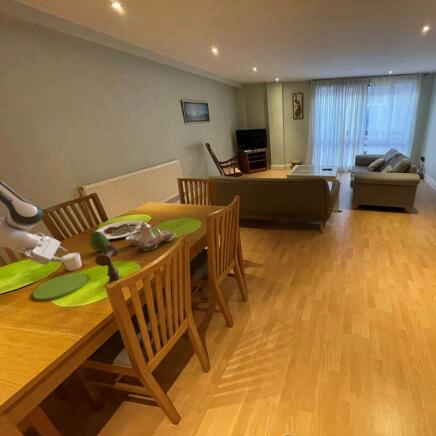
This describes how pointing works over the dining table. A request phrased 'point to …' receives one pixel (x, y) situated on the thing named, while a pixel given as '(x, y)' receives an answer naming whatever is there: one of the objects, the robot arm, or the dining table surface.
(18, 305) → the dining table surface
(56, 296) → the placemat
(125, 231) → the plated food
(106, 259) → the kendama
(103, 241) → the avocado
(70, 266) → the shot glass
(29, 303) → the dining table surface
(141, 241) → the chinaware
